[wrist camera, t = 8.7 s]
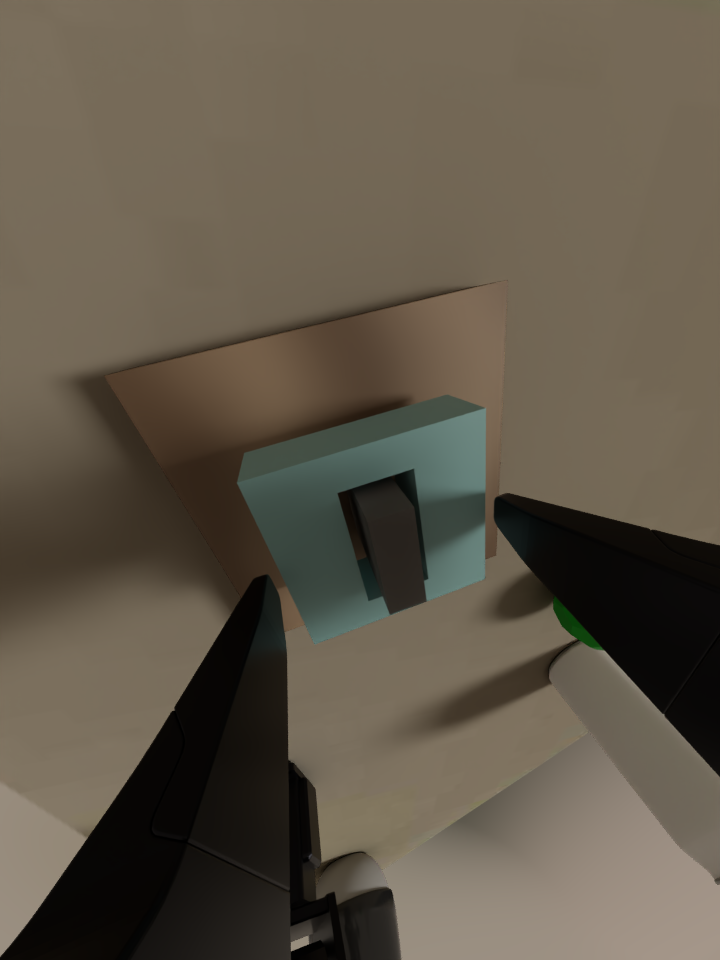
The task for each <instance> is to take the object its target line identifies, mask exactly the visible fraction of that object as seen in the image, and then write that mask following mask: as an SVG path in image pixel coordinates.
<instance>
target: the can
mask: <svg viewBox="0 0 720 960" xmlns="http://www.w3.org/2000/svg"><path fill="white" fill-rule="evenodd" d="M549 679H550V681H551V683H552V684H553V686H554V687H555V688H556V690H557V691H558V692H559V693H560V695H561V696H562V697H563V699H564V700H565V701H566V703H567V704H568V705H569V706H570V708H571V709H572V710H573V712H574V713H575V714H576V716H577V717H578V718H579V719H580V721H581V722H582V723H583V725H584V726H585V727H586V728H587V730H588V731H589V732H590V734H591V735H592V736H593V738H594V739H595V740H596V741H597V743H598V744H599V745H600V747H601V748H602V749H603V750H604V752H605V753H606V754H607V756H608V757H609V758H610V759H611V761H612V762H613V763H614V765H615V766H616V767H617V768H618V770H619V771H620V772H621V774H622V775H623V776H624V778H625V779H626V780H627V781H628V782H629V784H630V785H631V786H632V788H633V789H634V790H635V792H636V793H637V794H638V796H639V797H640V798H641V799H642V801H643V802H644V803H645V804H646V806H647V807H648V808H649V810H650V811H651V812H652V813H653V815H654V816H655V817H656V818H657V820H658V821H659V822H660V824H661V825H662V826H663V828H664V829H665V830H666V831H667V833H668V834H669V835H670V836H671V837H672V839H673V840H674V841H675V842H676V844H677V845H678V846H679V847H680V848H681V849H682V850H683V851H684V852H686V853H687V854H688V855H689V856H690V857H692V858H693V859H694V860H695V861H697V862H698V863H699V864H700V865H701V866H703V867H704V868H705V869H706V870H707V871H708V872H709V873H710V874H711V875H712V876H713V877H714V879H715V883H716V884H717V885H720V777H719V776H718V775H717V774H716V773H715V771H714V770H713V769H712V768H711V767H710V766H709V765H708V764H707V763H706V762H705V760H704V759H703V758H702V757H701V756H700V755H699V754H698V753H697V752H696V751H695V750H694V748H693V747H692V746H691V745H690V744H689V743H688V742H687V741H686V740H685V739H684V737H683V736H682V735H681V734H680V733H679V732H678V731H677V730H676V729H675V728H674V727H673V725H672V724H671V723H670V722H669V721H668V720H667V719H666V718H665V716H664V714H662V713H661V712H660V711H659V710H658V709H657V708H656V706H655V705H654V704H653V703H652V702H651V701H650V700H649V699H648V698H647V697H646V696H645V694H644V693H643V692H642V691H641V690H640V689H639V688H638V687H637V686H636V685H635V683H634V682H633V681H632V680H631V679H630V678H629V677H628V676H627V675H626V674H625V673H624V671H623V670H622V669H621V668H620V667H619V666H618V665H617V664H616V663H615V662H614V660H613V659H612V658H611V657H610V656H609V655H608V654H607V653H606V652H605V651H604V650H596V649H593V648H590V647H589V646H587V645H586V644H584V643H583V642H581V641H580V640H579V641H577V642H575V643H574V644H572V645H570V646H569V647H567V648H566V649H565V650H563V651H562V652H561V653H560V654H559V655H558V656H557V657H556V658H555V659H554V660H553V662H552V663H551V665H550V667H549Z"/></svg>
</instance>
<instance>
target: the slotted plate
mask: <svg viewBox="0 0 720 960" xmlns="http://www.w3.org/2000/svg"><path fill="white" fill-rule="evenodd" d="M392 475H394V476H395V482H396V484H397V485H398V487H399V488H400V489H401V490H402V492H403V493H404V494H405V496H406V497H407V498H408V499H409V501H410V502H411V503H412V505H413V506H414V509H415V517H416V524H417V532H418V539H419V547H420V554H421V562H422V569H423V576H424V584H425V591H426V599H427V601H429V600H432V599H434V598H437V597H439V596H442V595H445V594H447V593H450V592H452V591H455V590H458V589H460V588H463V587H465V586H468V585H471V584H473V583H476V582H478V581H481V580H484V579H485V486H486V408H484V407H482V406H479V405H476V404H473V403H470V402H467V401H465V400H462V399H459V398H456V397H453V396H450V395H448V394H447V395H443V396H440V397H437V398H433V399H430V400H426V401H423V402H419V403H416V404H412V405H409V406H405V407H402V408H398V409H395V410H391V411H388V412H384V413H381V414H378V415H374V416H371V417H367V418H364V419H360V420H357V421H353V422H350V423H346V424H343V425H339V426H336V427H332V428H329V429H326V430H322V431H319V432H315V433H312V434H308V435H305V436H301V437H298V438H294V439H291V440H287V441H284V442H280V443H277V444H273V445H270V446H267V447H263V448H260V449H256V450H253V451H249V452H246V453H244V456H243V460H242V464H241V468H240V472H239V476H238V481H237V484H238V486H239V488H240V490H241V492H242V494H243V497H244V499H245V501H246V503H247V505H248V507H249V509H250V511H251V513H252V515H253V517H254V519H255V522H256V524H257V526H258V528H259V530H260V532H261V534H262V536H263V538H264V540H265V542H266V544H267V546H268V549H269V551H270V553H271V555H272V557H273V559H274V561H275V563H276V565H277V567H278V569H279V571H280V573H281V576H282V578H283V580H284V582H285V584H286V586H287V588H288V590H289V592H290V594H291V596H292V598H293V601H294V603H295V605H296V607H297V609H298V611H299V613H300V615H301V617H302V619H303V621H304V623H305V625H306V628H307V630H308V632H309V634H310V636H311V638H312V640H313V642H314V644H317V643H320V642H323V641H325V640H328V639H330V638H333V637H336V636H338V635H341V634H343V633H346V632H349V631H351V630H354V629H356V628H359V627H362V626H364V625H367V624H369V623H372V622H375V621H377V620H380V619H382V618H385V617H387V616H390V614H389V611H388V609H387V606H386V604H385V601H384V599H383V596H382V594H381V591H380V588H379V586H378V583H377V581H376V578H375V576H374V573H373V571H372V568H371V566H370V563H369V561H368V558H367V557H365V558H363V559H360V560H357V559H356V556H355V553H354V549H353V546H352V542H351V539H350V535H349V532H348V528H347V525H346V521H345V518H344V515H343V511H342V508H341V504H340V501H339V497H338V494H337V493H339V492H342V491H345V490H349V489H352V488H355V487H358V486H361V485H364V484H367V483H370V482H374V481H377V480H380V479H383V478H386V477H389V476H392ZM418 605H419V604H418ZM415 606H416V605H415ZM410 608H411V607H410ZM407 609H408V608H407ZM405 610H406V609H405ZM402 611H403V610H402ZM399 612H400V611H399ZM397 613H398V612H397ZM394 614H395V613H394ZM391 615H393V614H391Z"/></svg>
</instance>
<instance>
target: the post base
mask: <svg viewBox="0 0 720 960" xmlns="http://www.w3.org/2000/svg"><path fill="white" fill-rule="evenodd" d="M507 291H508V280H504V281H500V282H495V283H490V284H485V285H480V286H476V287H472V288H468V289H463V290H459V291H455V292H451V293H447V294H442V295H438V296H434V297H430V298H426V299H421V300H417V301H413V302H409V303H405V304H400V305H396V306H392V307H388V308H383V309H379V310H375V311H371V312H367V313H362V314H358V315H354V316H350V317H346V318H341V319H337V320H333V321H329V322H325V323H320V324H316V325H312V326H308V327H304V328H299V329H295V330H291V331H287V332H282V333H278V334H274V335H270V336H266V337H261V338H257V339H253V340H249V341H245V342H240V343H236V344H232V345H228V346H224V347H219V348H215V349H211V350H207V351H203V352H198V353H194V354H190V355H186V356H181V357H177V358H173V359H169V360H165V361H160V362H156V363H152V364H148V365H144V366H139V367H135V368H131V369H127V370H123V371H120V372H116V373H113V374H109V375H105V376H104V377H105V378H106V380H107V381H108V383H109V385H110V386H111V388H112V390H113V391H114V393H115V394H116V396H117V398H118V399H119V401H120V402H121V404H122V406H123V407H124V409H125V411H126V412H127V414H128V415H129V417H130V419H131V420H132V422H133V424H134V425H135V427H136V428H137V430H138V432H139V433H140V435H141V436H142V438H143V440H144V441H145V443H146V445H147V446H148V448H149V449H150V451H151V453H152V454H153V456H154V458H155V459H156V461H157V462H158V464H159V466H160V467H161V469H162V470H163V472H164V474H165V475H166V477H167V479H168V480H169V482H170V483H171V485H172V487H173V488H174V490H175V492H176V493H177V495H178V496H179V498H180V500H181V501H182V503H183V504H184V506H185V508H186V509H187V511H188V513H189V514H190V516H191V517H192V519H193V521H194V522H195V524H196V526H197V527H198V529H199V530H200V532H201V534H202V535H203V537H204V538H205V540H206V542H207V543H208V545H209V547H210V548H211V550H212V551H213V553H214V555H215V556H216V558H217V560H218V561H219V563H220V564H221V566H222V568H223V569H224V571H225V572H226V574H227V576H228V577H229V579H230V581H231V582H232V584H233V585H234V587H235V589H236V590H237V592H238V594H239V595H240V597H241V598H242V596H243V594H244V593H245V591H246V589H247V588H248V586H249V584H250V583H251V581H252V580H253V579H254V578H255V577H258V576H261V575H264V574H268V575H269V576H270V577H271V579H272V581H273V583H274V585H275V587H276V589H277V591H278V593H279V596H280V601H281V609H282V617H283V625H284V632H286V631H289V630H292V629H294V628H297V627H300V626H303V625H305V623H304V621H303V619H302V617H301V615H300V613H299V611H298V609H297V607H296V605H295V603H294V601H293V598H292V596H291V594H290V592H289V590H288V588H287V586H286V584H285V582H284V580H283V578H282V576H281V573H280V571H279V569H278V567H277V565H276V563H275V561H274V559H273V557H272V555H271V553H270V551H269V549H268V546H267V544H266V542H265V540H264V538H263V536H262V534H261V532H260V530H259V528H258V526H257V524H256V522H255V519H254V517H253V515H252V513H251V511H250V509H249V507H248V505H247V503H246V501H245V499H244V497H243V494H242V492H241V490H240V488H239V486H238V484H237V481H238V476H239V472H240V468H241V464H242V460H243V456H244V453H246V452H249V451H253V450H256V449H260V448H263V447H267V446H270V445H273V444H277V443H280V442H284V441H287V440H291V439H294V438H298V437H301V436H305V435H308V434H312V433H315V432H319V431H322V430H326V429H329V428H332V427H336V426H339V425H343V424H346V423H350V422H353V421H357V420H360V419H364V418H367V417H371V416H374V415H378V414H381V413H384V412H388V411H391V410H395V409H398V408H402V407H405V406H409V405H412V404H416V403H419V402H423V401H426V400H430V399H433V398H437V397H440V396H443V395H447V394H448V395H450V396H453V397H456V398H459V399H462V400H465V401H467V402H470V403H473V404H476V405H479V406H482V407H484V408H486V486H485V559H488V558H490V557H493V556H496V547H497V525H496V524H495V521H494V517H493V516H494V499H495V497H497V496H499V477H500V454H501V431H502V407H503V384H504V361H505V338H506V314H507ZM337 494H338V497H339V501H340V504H341V508H342V511H343V515H344V518H345V521H346V525H347V528H348V532H349V535H350V539H351V542H352V546H353V549H354V553H355V556H356V559H357V560H360V559H363V558H365V557H367V558H368V561H369V563H370V566H371V568H372V571H373V573H374V576H375V578H376V581H377V583H378V586H379V588H380V591H381V594H382V596H383V599H384V601H385V604H386V606H387V609H388V611H389V614H390V615H391V614H394V613H397V612H399V611H402V610H405V609H407V608H410V607H413V606H415V605H418V604H421V603H424V602H426V601H427V599H426V591H425V584H424V576H423V569H422V562H421V554H420V547H419V539H418V532H417V524H416V517H415V509H414V506H413V505H412V503H411V502H410V501H409V499H408V498H407V497H406V496H405V494H404V493H403V492H402V490H401V489H400V488H399V487H398V485H397V484H396V482H395V476H394V475H392V476H389V477H386V478H383V479H380V480H377V481H374V482H370V483H367V484H364V485H361V486H358V487H355V488H352V489H349V490H345V491H342V492H339V493H337Z"/></svg>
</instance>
